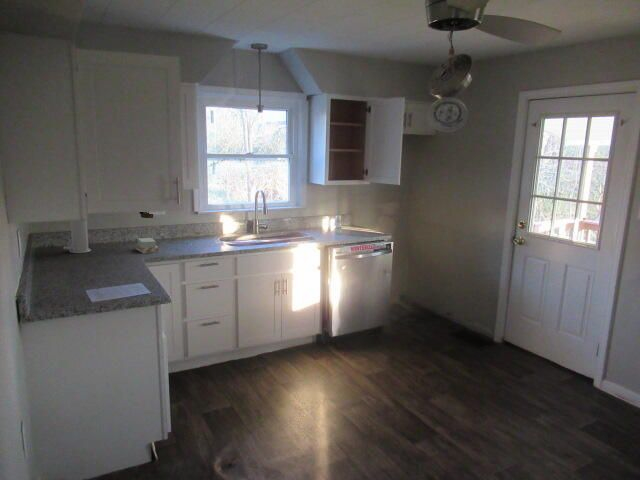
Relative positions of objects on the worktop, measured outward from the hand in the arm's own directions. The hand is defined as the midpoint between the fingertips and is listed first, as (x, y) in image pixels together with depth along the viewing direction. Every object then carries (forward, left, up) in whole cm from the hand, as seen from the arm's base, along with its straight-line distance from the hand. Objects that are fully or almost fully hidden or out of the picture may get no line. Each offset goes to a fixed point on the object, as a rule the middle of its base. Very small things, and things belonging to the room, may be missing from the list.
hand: (146, 213), depth 316 cm
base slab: (0, 0, -26) cm, 26 cm away
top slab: (0, 0, -22) cm, 22 cm away
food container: (-1, 0, -3) cm, 3 cm away
